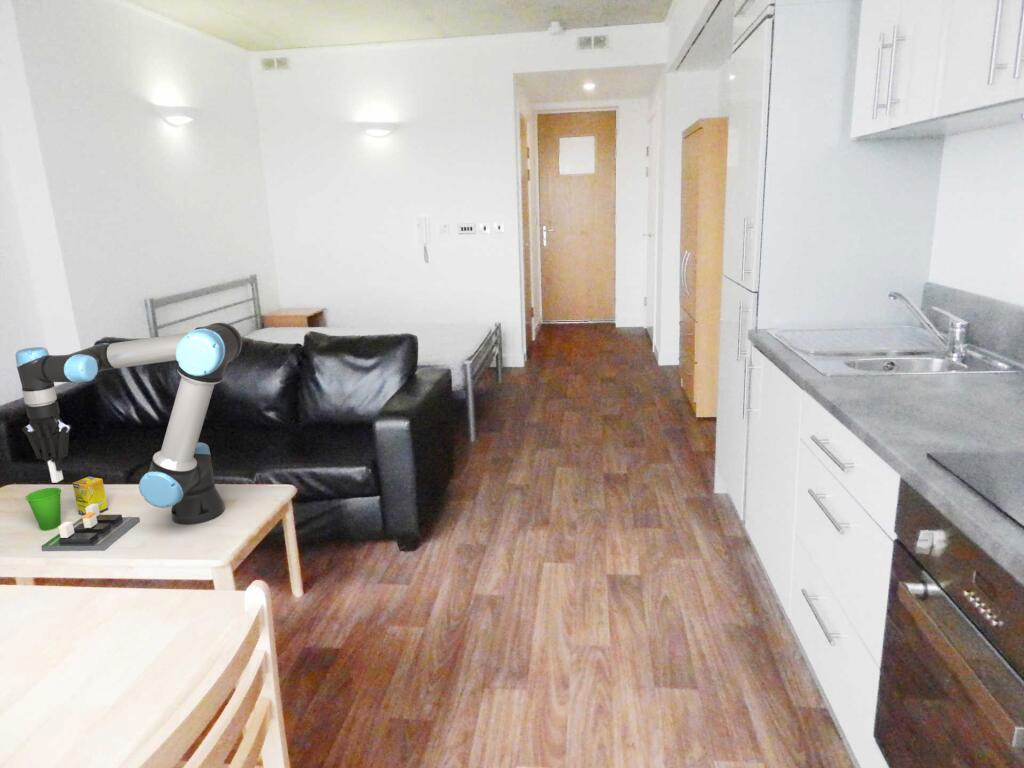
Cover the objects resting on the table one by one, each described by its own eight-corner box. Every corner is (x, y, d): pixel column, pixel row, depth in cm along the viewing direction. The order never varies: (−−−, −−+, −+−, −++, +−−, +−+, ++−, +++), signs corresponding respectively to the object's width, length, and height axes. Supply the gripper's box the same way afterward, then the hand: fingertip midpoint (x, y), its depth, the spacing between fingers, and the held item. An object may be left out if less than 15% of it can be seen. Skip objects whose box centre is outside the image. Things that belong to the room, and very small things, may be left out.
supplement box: (78, 514, 214) (71, 482, 211) (95, 507, 219) (89, 475, 216) (91, 517, 212) (84, 485, 209) (108, 509, 217) (102, 478, 214)
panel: (139, 521, 208) (138, 512, 207) (104, 550, 191) (102, 540, 190) (82, 522, 209) (80, 513, 208) (42, 551, 191) (40, 541, 191)
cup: (50, 534, 201) (43, 501, 198) (25, 532, 203) (17, 499, 200) (75, 521, 209) (68, 488, 207) (50, 519, 211) (43, 486, 208)
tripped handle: (97, 523, 200) (95, 512, 199) (91, 527, 197) (88, 516, 197) (90, 523, 200) (88, 512, 200) (84, 527, 198) (82, 516, 197)
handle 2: (100, 514, 206) (97, 503, 205) (93, 518, 203) (91, 508, 202) (93, 514, 206) (91, 503, 205) (87, 518, 203) (85, 508, 203)
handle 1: (74, 532, 195) (72, 521, 194) (67, 537, 192) (65, 526, 191) (67, 532, 195) (65, 521, 194) (60, 537, 192) (58, 526, 191)
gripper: (73, 398, 193) (87, 475, 199) (28, 399, 193) (44, 475, 199) (55, 406, 186) (71, 485, 192) (8, 406, 186) (26, 486, 192)
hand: (57, 480), depth 195 cm, fingers closed
